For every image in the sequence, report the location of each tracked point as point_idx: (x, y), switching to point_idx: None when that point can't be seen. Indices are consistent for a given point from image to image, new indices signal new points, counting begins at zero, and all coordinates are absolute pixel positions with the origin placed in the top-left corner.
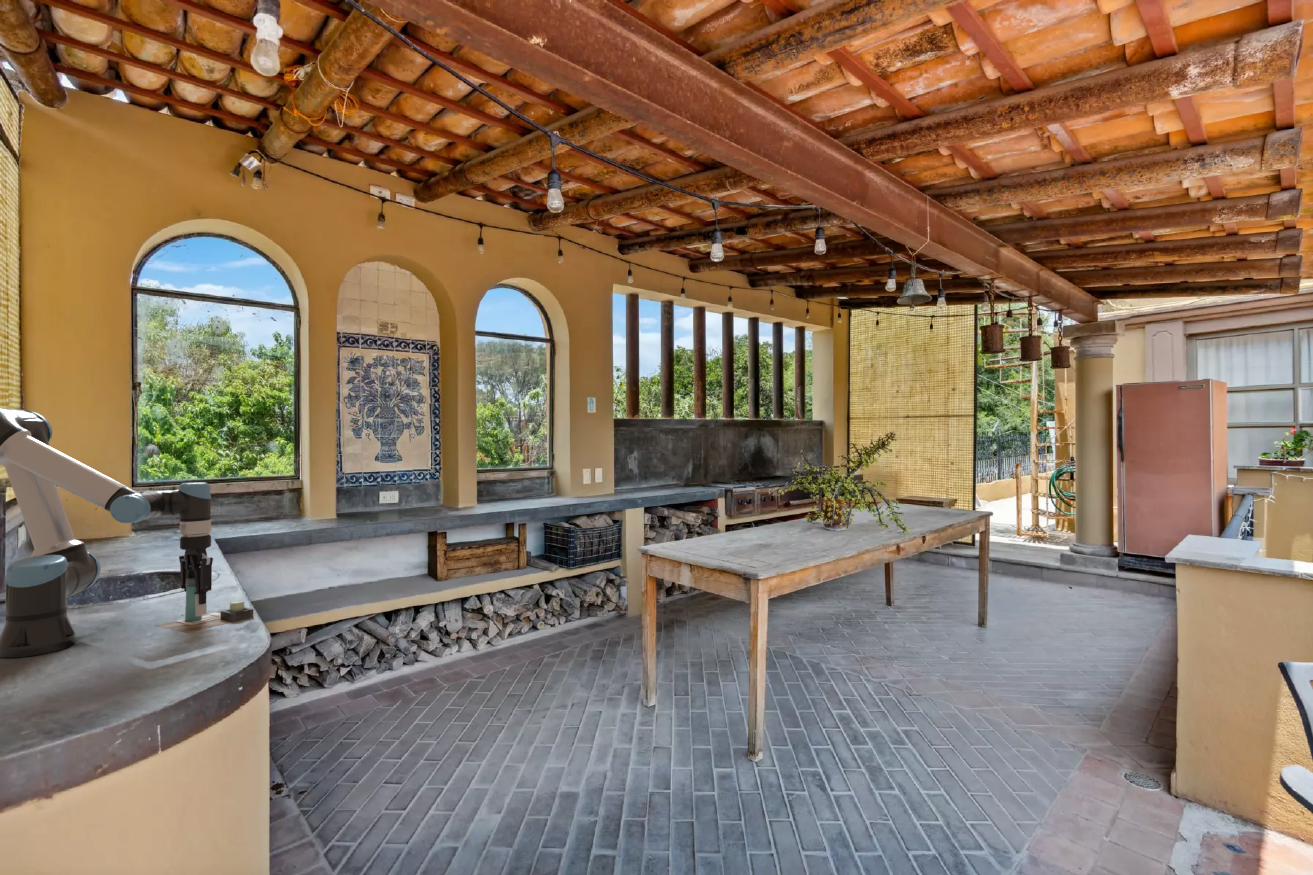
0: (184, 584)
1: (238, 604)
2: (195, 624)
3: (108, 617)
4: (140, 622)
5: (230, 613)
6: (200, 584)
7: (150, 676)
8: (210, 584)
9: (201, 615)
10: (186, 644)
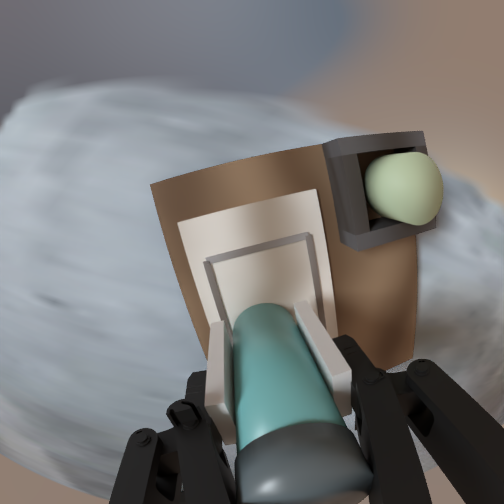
0: (176, 479)
1: (439, 194)
2: (339, 333)
3: (12, 407)
4: (88, 402)
5: (423, 231)
6: (420, 439)
7: (499, 381)
8: (452, 386)
9: (284, 313)
10: (445, 351)
